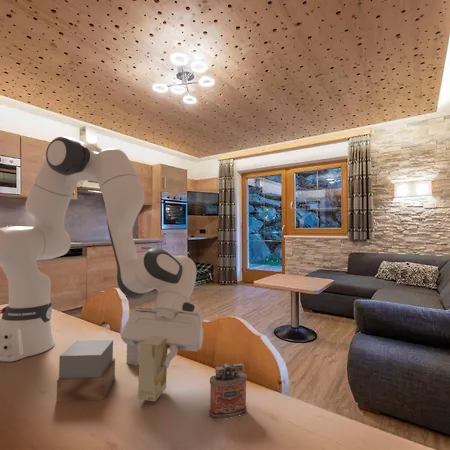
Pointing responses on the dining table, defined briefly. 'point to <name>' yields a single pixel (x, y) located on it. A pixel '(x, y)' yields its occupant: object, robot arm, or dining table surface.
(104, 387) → the tower base block
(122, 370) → the dining table surface
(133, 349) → the white red printed carton
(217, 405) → the lighter
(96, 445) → the dining table surface
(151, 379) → the skincare box
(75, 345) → the tower top block
